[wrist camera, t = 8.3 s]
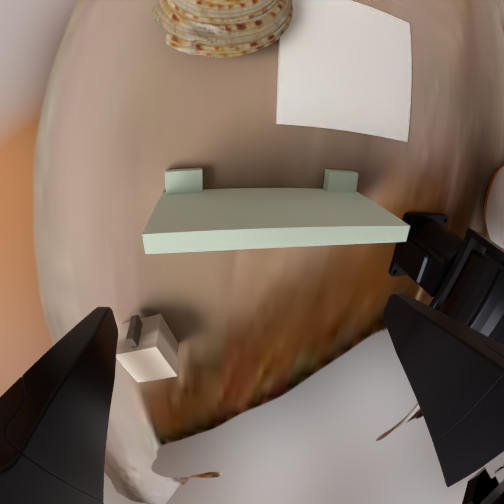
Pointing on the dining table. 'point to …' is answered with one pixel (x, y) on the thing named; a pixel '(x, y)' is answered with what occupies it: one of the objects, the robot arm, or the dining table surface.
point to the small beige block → (148, 348)
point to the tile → (345, 69)
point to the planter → (495, 208)
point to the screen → (265, 216)
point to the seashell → (222, 25)
